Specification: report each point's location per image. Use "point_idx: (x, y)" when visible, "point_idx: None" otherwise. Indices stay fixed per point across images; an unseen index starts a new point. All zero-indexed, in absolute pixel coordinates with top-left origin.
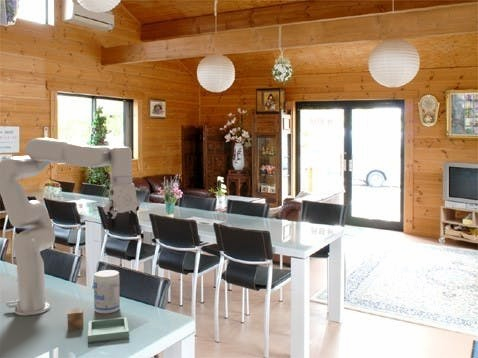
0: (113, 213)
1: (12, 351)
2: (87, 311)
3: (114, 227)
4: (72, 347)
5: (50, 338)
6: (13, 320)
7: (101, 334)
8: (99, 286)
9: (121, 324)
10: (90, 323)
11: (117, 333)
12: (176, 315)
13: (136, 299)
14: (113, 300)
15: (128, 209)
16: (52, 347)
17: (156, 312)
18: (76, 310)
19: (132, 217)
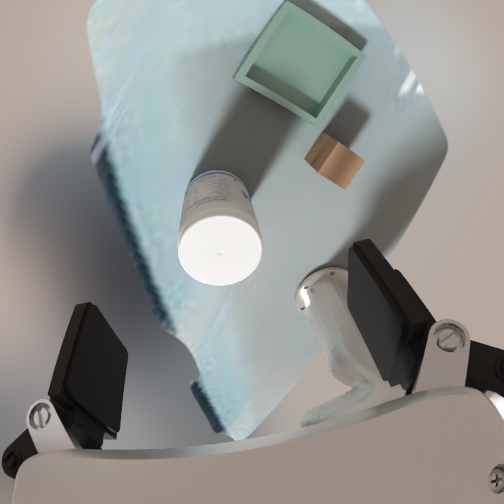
0: (463, 382)
1: (442, 143)
2: None
3: (376, 254)
4: (385, 67)
5: (387, 139)
6: None
7: (342, 37)
8: (255, 218)
9: (251, 75)
10: (324, 110)
11: (310, 15)
12: (100, 48)
13: (123, 216)
14: (216, 180)
15: (201, 480)
16: (405, 100)
17: (126, 98)
18: (339, 165)
19: (92, 384)
